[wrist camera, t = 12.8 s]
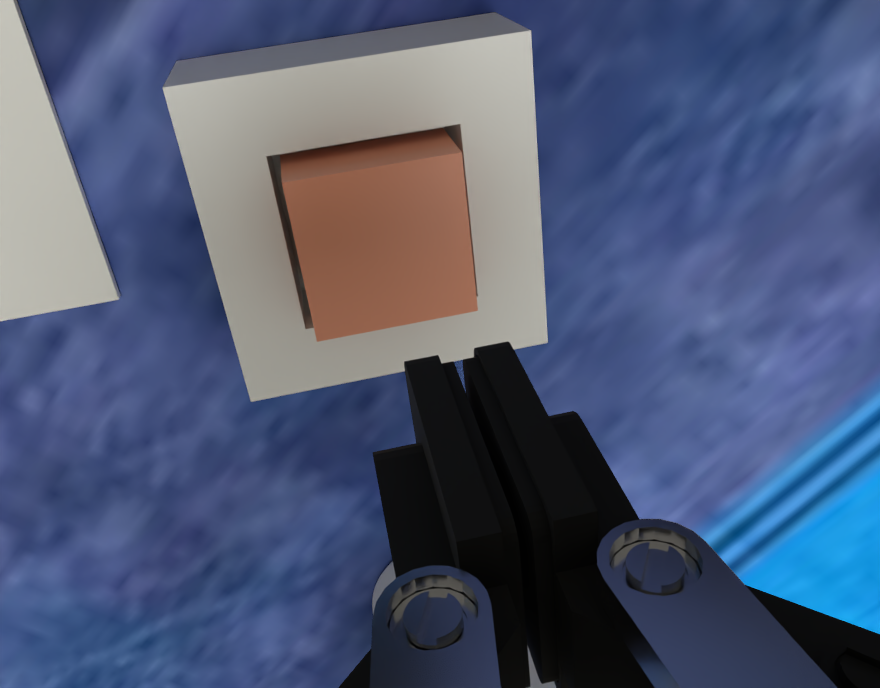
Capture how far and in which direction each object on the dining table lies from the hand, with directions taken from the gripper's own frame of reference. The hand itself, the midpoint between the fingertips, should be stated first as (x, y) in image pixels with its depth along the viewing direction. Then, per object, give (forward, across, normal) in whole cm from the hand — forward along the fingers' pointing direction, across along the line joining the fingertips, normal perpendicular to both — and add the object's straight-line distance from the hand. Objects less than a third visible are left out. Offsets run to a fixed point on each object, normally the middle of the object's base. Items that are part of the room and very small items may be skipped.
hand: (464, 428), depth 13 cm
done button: (+11, 0, +1) cm, 11 cm away
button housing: (+14, 0, +1) cm, 14 cm away
